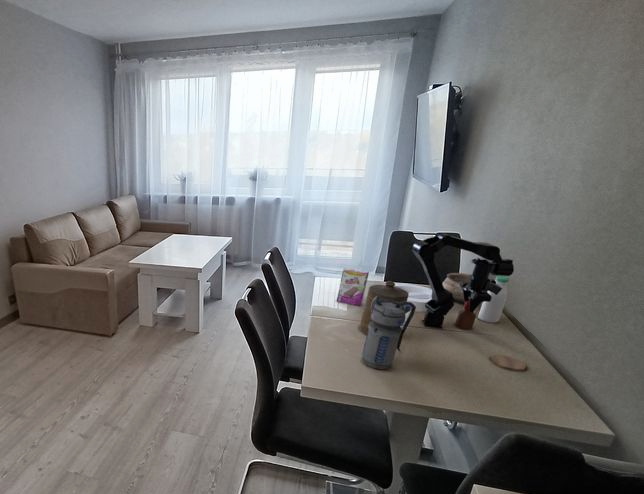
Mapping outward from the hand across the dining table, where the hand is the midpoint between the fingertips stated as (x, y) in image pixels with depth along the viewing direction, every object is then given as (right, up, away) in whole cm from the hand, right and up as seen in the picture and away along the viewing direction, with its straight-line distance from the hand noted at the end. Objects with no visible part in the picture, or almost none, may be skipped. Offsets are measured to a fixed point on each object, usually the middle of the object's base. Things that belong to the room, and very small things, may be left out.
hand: (468, 309), depth 176 cm
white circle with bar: (-9, +5, +31) cm, 32 cm away
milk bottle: (+16, -5, +11) cm, 20 cm away
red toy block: (0, 0, 0) cm, 0 cm away
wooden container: (-40, -9, -3) cm, 41 cm away
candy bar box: (-40, +4, +26) cm, 48 cm away
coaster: (-4, -20, -26) cm, 34 cm away
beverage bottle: (-53, -20, -29) cm, 63 cm away
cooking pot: (+18, +5, +32) cm, 37 cm away
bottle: (0, -7, +3) cm, 8 cm away
